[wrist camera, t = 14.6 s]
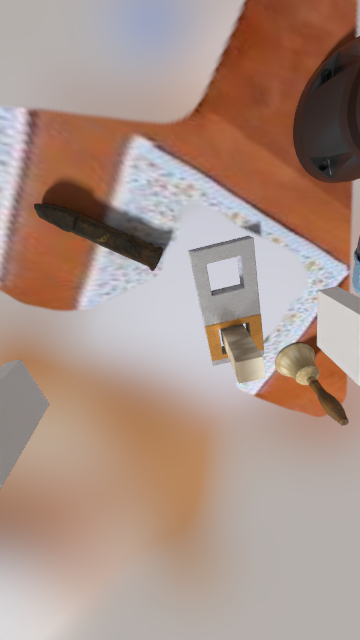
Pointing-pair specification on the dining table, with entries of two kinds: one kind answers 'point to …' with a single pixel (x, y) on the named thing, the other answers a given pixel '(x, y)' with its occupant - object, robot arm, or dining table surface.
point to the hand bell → (308, 376)
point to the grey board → (228, 294)
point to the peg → (243, 353)
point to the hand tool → (100, 234)
